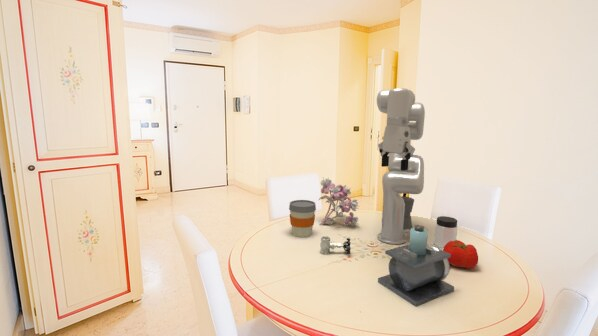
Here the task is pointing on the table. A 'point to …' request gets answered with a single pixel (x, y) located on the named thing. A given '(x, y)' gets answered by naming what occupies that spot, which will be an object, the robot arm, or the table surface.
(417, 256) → the motor
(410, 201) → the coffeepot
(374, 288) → the table surface
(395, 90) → the robot arm
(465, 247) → the tomato
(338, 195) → the flower
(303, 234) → the reusable coffee cup
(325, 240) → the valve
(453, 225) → the jar
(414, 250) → the teal cylinder with cap
